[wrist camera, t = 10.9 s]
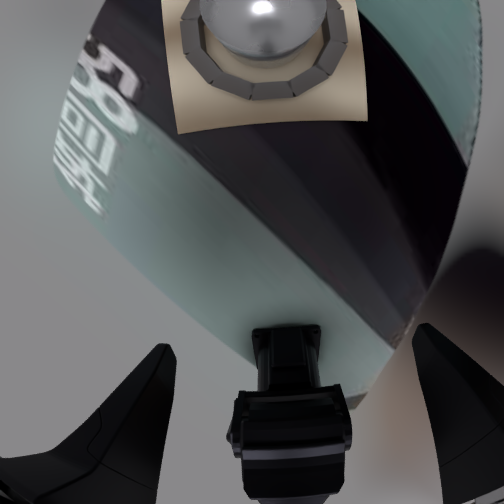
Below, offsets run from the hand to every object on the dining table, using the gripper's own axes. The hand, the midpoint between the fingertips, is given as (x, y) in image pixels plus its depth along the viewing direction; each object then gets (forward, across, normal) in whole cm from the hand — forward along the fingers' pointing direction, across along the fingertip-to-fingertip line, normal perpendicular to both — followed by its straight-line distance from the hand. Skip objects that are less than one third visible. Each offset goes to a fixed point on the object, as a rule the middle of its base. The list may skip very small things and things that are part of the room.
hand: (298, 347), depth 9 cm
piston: (+11, 0, -12) cm, 16 cm away
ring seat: (+12, 0, -12) cm, 17 cm away
